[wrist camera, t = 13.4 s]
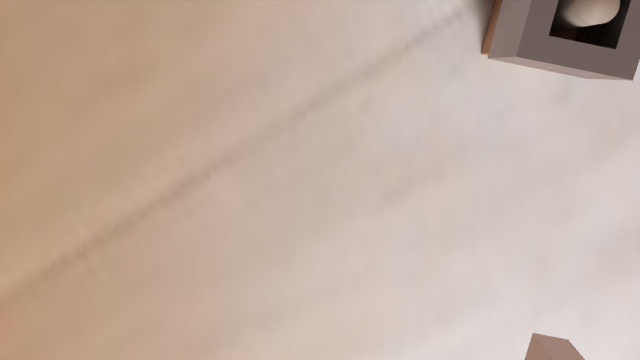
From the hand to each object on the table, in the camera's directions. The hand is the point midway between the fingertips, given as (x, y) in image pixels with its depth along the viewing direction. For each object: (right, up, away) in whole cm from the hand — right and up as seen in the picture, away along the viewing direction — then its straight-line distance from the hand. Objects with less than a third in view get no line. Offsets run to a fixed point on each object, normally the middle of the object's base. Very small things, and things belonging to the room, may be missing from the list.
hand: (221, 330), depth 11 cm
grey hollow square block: (+18, +14, +25) cm, 34 cm away
